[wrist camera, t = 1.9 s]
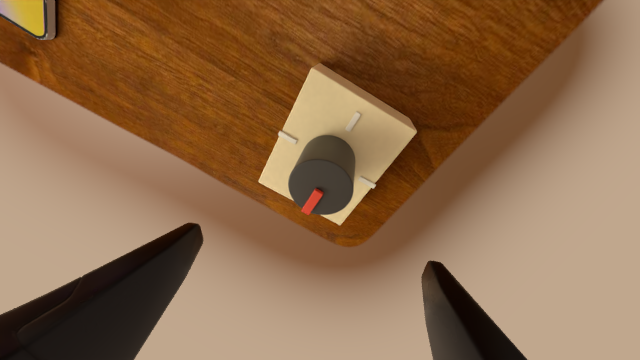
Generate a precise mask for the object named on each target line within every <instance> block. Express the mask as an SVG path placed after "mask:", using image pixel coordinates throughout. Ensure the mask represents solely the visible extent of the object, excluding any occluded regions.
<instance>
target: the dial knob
mask: <svg viewBox="0 0 640 360" xmlns="http://www.w3.org/2000/svg"><path fill="white" fill-rule="evenodd" d="M354 176H355V155H354V152H353V150H352V148H351V147H350V145H349V144H348V143H347V142H346V141H344V140H343V139H341V138H339V137H336V136H332V135H322V136H318V137H316V138H314V139H312V140H311V141H309V142H308V143H307V145H306V146H305V148H304V149H303V151H302V153H301V155H300V157H299V159H298V161H297V162H296V164H295V166H294V168H293V170H292V172H291V174H290V176H289V180H288V188H289V192H290V195H291V197H292V198H293V200H294V201H295V202H296V204H297V205H299V206H300V207H301V208H302V210H301V211H302V212H303V213H305V214H307V215H309V214H310V213H313V214H318V215H329V214H334V213H337V212H339V211H341V210H342V209H344V208H345V207H346V206H347V205H348V204H349V202H350V201H351V199H352V196H353V191H354Z"/></svg>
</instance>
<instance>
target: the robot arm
mask: <svg viewBox="0 0 640 360" xmlns="http://www.w3.org/2000/svg"><path fill="white" fill-rule="evenodd" d="M202 244H203V235H202V232H201V228H200V226H199V224H195V223H187V224H184V225H183V226H181V227H179V228H177V229H175V230H173V231H171V232H169V233H167V234H165V235H163V236H161V237H159V238H157V239H155V240H153V241H151V242H149V243H147V244H145V245H143V246H141V247H139V248H137V249H135V250H133V251H131V252H129V253H127V254H125V255H123V256H121V257H119V258H117V259H115V260H113V261H111V262H109V263H107V264H105V265H103V266H101V267H99V268H97V269H95V270H93V271H91V272H89V273H87V274H85V275H84V276H82V277H79V278H78V279H75V280H74V281H71V282H70V283H67V284H66V285H63V286H61V287H59V288H58V289H55V290H53V291H51V292H49V293H47V294H45V295H43V296H41V297H39V298H36V299H34V300H32V301H30V302H28V303H26V304H23V305H21V306H19V307H17V308H14V309H13V310H10V311H8V312H6V313H3V314H1V315H0V360H134V359H135V357H136V355H137V354H138V352H139V351H140V349H141V347H142V346H143V344H144V343H145V341H146V340H147V338H148V336H149V335H150V333H151V332H152V330H153V328H154V327H155V325H156V324H157V322H158V321H159V319H160V318H161V316H162V314H163V313H164V311H165V310H166V308H167V306H168V305H169V303H170V302H171V300H172V299H173V297H174V295H175V294H176V292H177V291H178V289H179V287H180V286H181V284H182V283H183V281H184V279H185V278H186V276H187V274H188V272H189V270H190V268H191V266H192V264H193V262H194V260H195V258H196V256H197V254H198V252H199V250H200V248H201V246H202ZM422 290H423V301H424V310H425V320H426V327H427V332H428V337H429V342H430V346H431V351H432V356H433V360H527V359H526V358H525V357H524V355H523V354H522V353H521V352H520V351H519V350H518V349H517V347H516V346H515V345H514V344H513V343H512V342H511V341H510V340H509V338H508V337H507V336H506V335H505V334H504V333H503V332H502V331H501V329H500V328H499V327H498V326H497V325H496V324H495V323H494V321H493V320H492V319H491V318H490V317H489V316H488V315H487V314H486V312H484V310H483V309H482V308H481V307H480V306H479V305H478V303H477V302H476V301H475V300H474V299H473V298H472V297H471V296H470V294H469V293H468V292H467V291H466V290H465V289H464V288H463V287H462V285H461V284H460V283H459V282H458V281H457V280H456V279H455V278H454V276H453V275H452V274H451V273H450V272H449V271H448V270H447V269H446V267H445V266H444V265H443V264H442V263H441V262H436V261H428V263H427V265H426V267H425V269H424V272H423V274H422Z"/></svg>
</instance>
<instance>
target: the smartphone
mask: <svg viewBox="0 0 640 360" xmlns="http://www.w3.org/2000/svg"><path fill="white" fill-rule="evenodd" d="M0 16H1V17H3V18H4V19H6V20H8V21H9V22H11V23H12V24H14V25H16V26H17V27H19V28H20V29H22V30H24V31H25V32H27V33H29V34H30V35H32V36H33V37H35V38H37V39H40V40H48V39H53V38H54V37H55V33H56V31H55V0H0Z"/></svg>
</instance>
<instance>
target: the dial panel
mask: <svg viewBox="0 0 640 360" xmlns="http://www.w3.org/2000/svg"><path fill="white" fill-rule="evenodd" d="M416 133H417V131H416V129H415V127H414V125H413V124H412V122H411V120H410V118H408V117H406V116H405V115H403V114H402V113H400V112H398V111H397V110H395V109H393V108H392V107H390V106H389V105H387V104H385V103H384V102H382V101H381V100H379V99H377V98H376V97H374V96H372V95H371V94H369V93H368V92H366V91H364V90H363V89H361V88H360V87H358V86H356V85H355V84H353V83H352V82H350V81H348V80H347V79H345V78H343V77H342V76H340V75H339V74H337V73H335V72H334V71H332V70H331V69H329V68H327V67H326V66H324V65H322V64H321V63H319V64H317V65H315V66H314V67H312V68H311V70H310V72H309V74H308V76H307V78H306V81H305V83H304V85H303V87H302V89H301V91H300V93H299V95H298V98H297V100H296V102H295V104H294V106H293V108H292V110H291V113H290V115H289V117H288V119H287V121H286V123H285V125H284V127H283V130H282V131H280V132H279V134H278V135H279V138H278V140H277V142H276V144H275V147H274V149H273V151H272V153H271V155H270V157H269V159H268V162H267V164H266V166H265V168H264V170H263V172H262V174H261V176H260V179H259V181H258V182H259V183H261V184H263V185H265V186H267V187H268V188H270V189H272V190H274V191H276V192H278V193H280V194H282V195H284V196H285V197H287V198H289V199H291V200H293V198H292V197H291V195H290V192H289V188H288V180H289V176H290V174H291V172H292V170H293V168H294V166H295V164H296V162H297V161H298V159H299V157H300V155H301V153H302V151H303V149H304V148H305V146H306V145H307V143H308V142H309V141H311V140H312V139H314V138H316V137H318V136H322V135H332V136H336V137H339V138H341V139H343V140H344V141H346V142H347V143H348V144H349V145H350V147H351V148H352V150H353V152H354V155H355V176H354V191H353V196H352V199H351V201H350V202H349V204H348V205H347V206H346V207H345V208H344V209H342V210H341V211H339V212H337V213H334V214H329V215H321V216H323V217H325V218H327V219H329V220H331V221H333V222H335V223H337V224H339V225H341V224H342V222H343V221H344V220H345V219H346V218H347V216H348V215H349V214H350V213H351V212H352V210H353V209H354V208H355V207H356V206H357V204H358V203H359V202H360V201H361V199H362V198H363V197H364V196H365V195H366V193H367V192H368V191H369V190H370V189H371V188H373V189H374V187H375V186H376V184H375V182H376V181H377V180H378V179H379V178H380V176H381V175H382V174H383V173H384V172H385V170H386V169H387V168H388V167H389V166H390V164H391V163H392V162H393V161H394V159H395V158H396V157H397V156H398V155H399V153H400V152H401V151H402V150H403V149H404V147H405V146H406V145H407V144H408V142H409V141H410V140H411V139H412V138H413V136H414V135H415V134H416ZM293 201H294V200H293Z"/></svg>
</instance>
